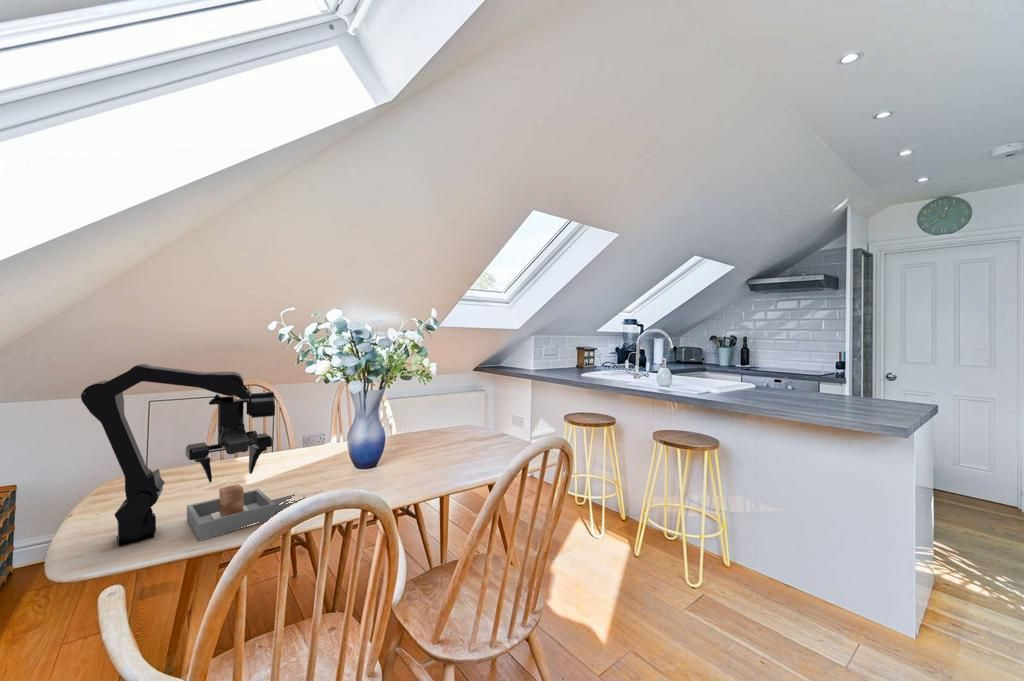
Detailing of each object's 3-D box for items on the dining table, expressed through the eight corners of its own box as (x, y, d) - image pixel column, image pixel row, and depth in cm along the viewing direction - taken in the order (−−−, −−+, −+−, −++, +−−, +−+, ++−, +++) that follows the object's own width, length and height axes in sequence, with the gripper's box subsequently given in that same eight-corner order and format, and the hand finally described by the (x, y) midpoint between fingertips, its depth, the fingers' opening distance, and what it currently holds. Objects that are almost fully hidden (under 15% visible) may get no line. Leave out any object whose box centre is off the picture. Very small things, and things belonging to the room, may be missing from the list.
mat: (274, 515, 117) (274, 513, 117) (263, 504, 124) (263, 502, 124) (312, 504, 125) (312, 502, 125) (299, 494, 132) (299, 492, 132)
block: (223, 519, 111) (223, 493, 111) (219, 514, 114) (219, 488, 114) (243, 514, 114) (243, 488, 114) (239, 509, 118) (238, 483, 117)
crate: (198, 541, 103) (198, 524, 103) (187, 520, 114) (186, 505, 113) (275, 518, 115) (275, 504, 115) (258, 502, 126) (258, 488, 126)
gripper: (193, 431, 101) (194, 495, 102) (279, 419, 115) (279, 477, 115) (185, 422, 109) (185, 483, 109) (266, 413, 122) (266, 467, 123)
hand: (231, 477), depth 114 cm, fingers open, 9 cm apart
